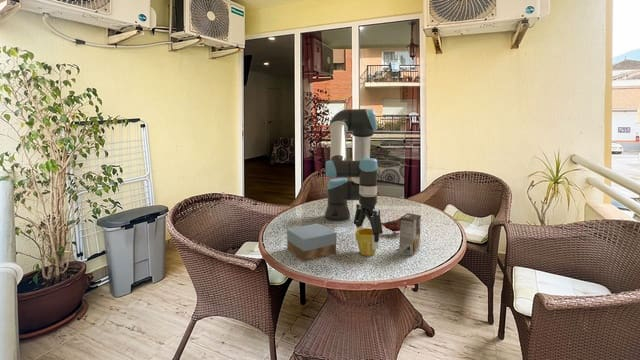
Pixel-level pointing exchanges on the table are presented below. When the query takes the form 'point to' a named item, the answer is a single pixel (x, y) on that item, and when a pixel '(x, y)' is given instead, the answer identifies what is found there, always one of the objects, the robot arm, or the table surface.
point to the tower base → (311, 251)
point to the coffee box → (409, 234)
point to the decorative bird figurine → (393, 225)
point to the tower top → (311, 236)
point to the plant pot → (365, 241)
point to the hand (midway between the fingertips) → (367, 244)
